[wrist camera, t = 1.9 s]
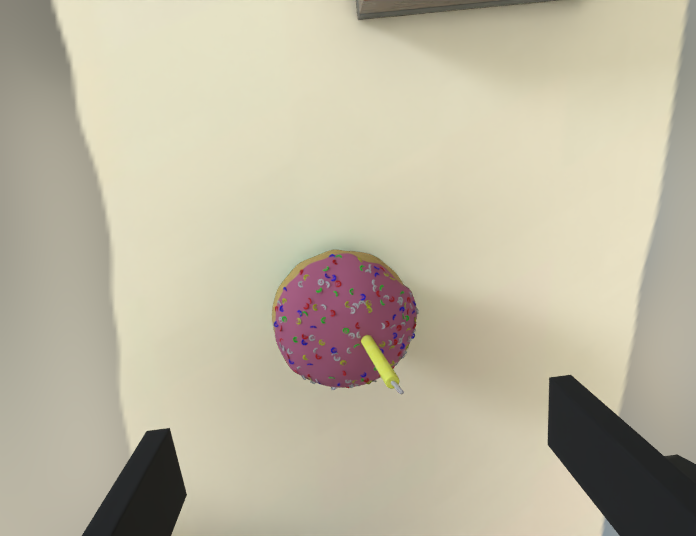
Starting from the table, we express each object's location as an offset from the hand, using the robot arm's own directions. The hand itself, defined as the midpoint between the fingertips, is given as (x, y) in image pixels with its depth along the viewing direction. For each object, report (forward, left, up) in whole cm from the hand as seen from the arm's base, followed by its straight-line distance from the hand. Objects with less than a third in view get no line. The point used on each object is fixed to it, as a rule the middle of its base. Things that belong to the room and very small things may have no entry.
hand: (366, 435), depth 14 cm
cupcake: (0, 0, -16) cm, 16 cm away
